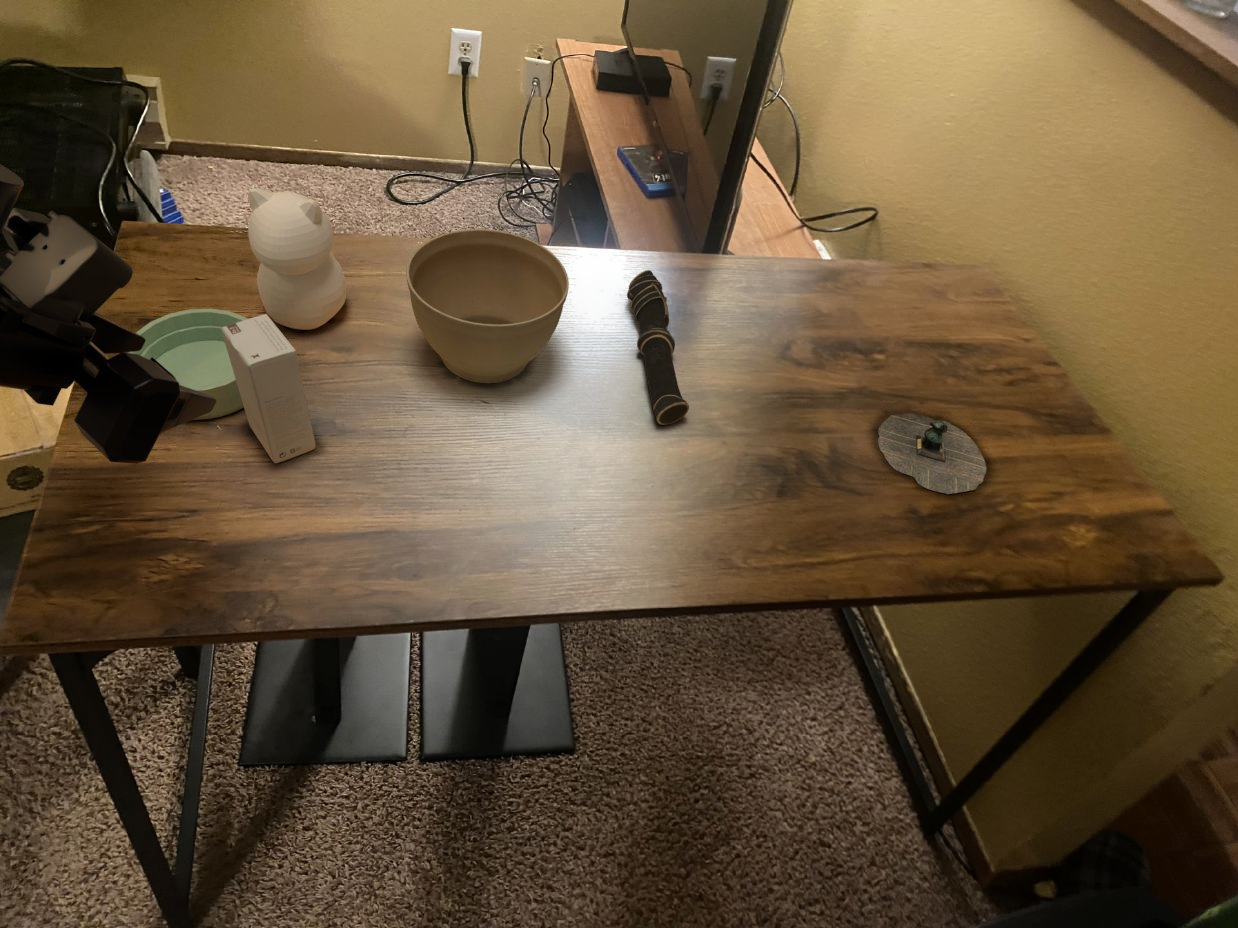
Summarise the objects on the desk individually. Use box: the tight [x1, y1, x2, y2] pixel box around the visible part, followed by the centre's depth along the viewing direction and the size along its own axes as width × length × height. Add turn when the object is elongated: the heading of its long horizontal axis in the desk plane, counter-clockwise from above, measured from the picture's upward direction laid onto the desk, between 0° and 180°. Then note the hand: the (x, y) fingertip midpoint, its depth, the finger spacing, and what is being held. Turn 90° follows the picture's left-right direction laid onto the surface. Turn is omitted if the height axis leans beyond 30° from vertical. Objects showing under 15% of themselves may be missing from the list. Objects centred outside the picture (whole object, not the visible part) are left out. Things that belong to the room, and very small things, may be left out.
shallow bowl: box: [128, 308, 249, 421], centre depth 82 cm, size 12×12×4 cm
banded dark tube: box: [626, 269, 690, 426], centre depth 95 cm, size 4×5×25 cm
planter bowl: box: [405, 228, 570, 384], centre depth 88 cm, size 16×16×11 cm
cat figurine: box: [247, 187, 348, 331], centre depth 87 cm, size 9×12×15 cm
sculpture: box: [877, 412, 987, 495], centre depth 92 cm, size 12×9×8 cm
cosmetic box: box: [221, 313, 317, 464], centre depth 75 cm, size 6×4×12 cm
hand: (176, 373), depth 63 cm, fingers open, 9 cm apart
